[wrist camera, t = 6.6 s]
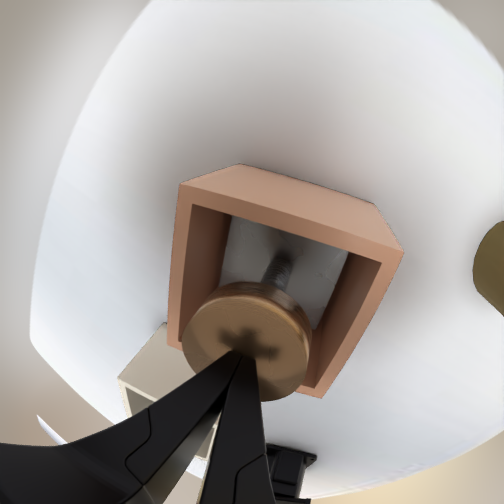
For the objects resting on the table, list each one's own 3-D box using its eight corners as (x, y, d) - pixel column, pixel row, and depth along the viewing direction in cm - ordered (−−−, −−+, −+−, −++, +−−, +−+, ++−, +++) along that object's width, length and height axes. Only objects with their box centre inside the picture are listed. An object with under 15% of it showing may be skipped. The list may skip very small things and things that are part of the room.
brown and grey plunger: (316, 324, 15) (298, 430, 9) (220, 292, 16) (158, 379, 10) (354, 231, 13) (372, 320, 6) (239, 195, 14) (160, 250, 7)
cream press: (235, 406, 25) (211, 463, 18) (163, 377, 26) (130, 425, 20) (253, 357, 21) (224, 427, 15) (163, 322, 22) (117, 377, 16)
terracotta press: (328, 316, 18) (321, 398, 12) (217, 279, 19) (166, 344, 13) (374, 204, 14) (404, 252, 8) (239, 163, 16) (179, 183, 9)
